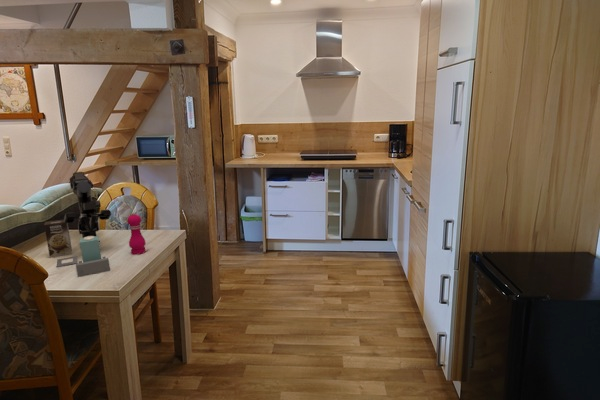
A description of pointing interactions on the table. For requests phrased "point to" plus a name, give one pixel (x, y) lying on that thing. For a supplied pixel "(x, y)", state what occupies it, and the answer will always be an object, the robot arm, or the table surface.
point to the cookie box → (58, 238)
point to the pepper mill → (136, 234)
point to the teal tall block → (90, 248)
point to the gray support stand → (92, 267)
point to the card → (67, 261)
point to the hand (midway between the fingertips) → (91, 232)
